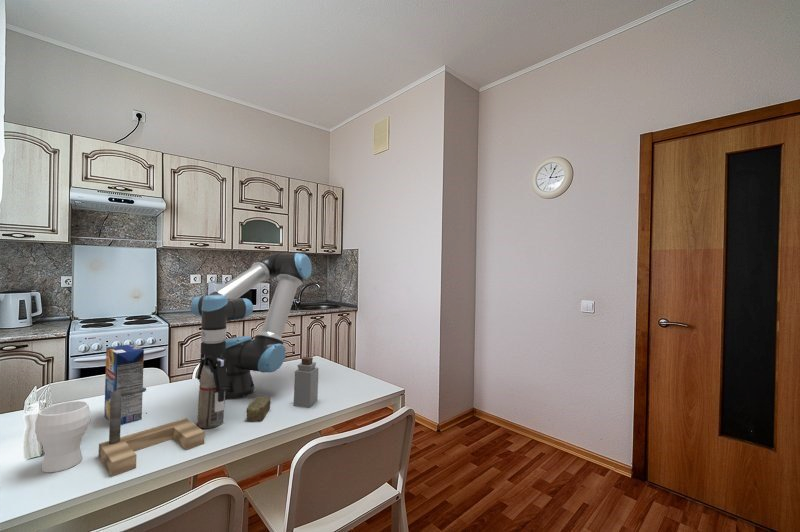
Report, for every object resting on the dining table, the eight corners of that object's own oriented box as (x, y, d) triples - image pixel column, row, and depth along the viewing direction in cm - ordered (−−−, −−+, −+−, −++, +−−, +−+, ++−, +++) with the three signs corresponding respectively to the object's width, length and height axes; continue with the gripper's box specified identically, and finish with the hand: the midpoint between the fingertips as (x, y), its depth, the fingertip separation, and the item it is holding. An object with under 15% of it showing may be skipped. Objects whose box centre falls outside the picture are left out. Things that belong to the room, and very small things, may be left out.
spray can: (218, 416, 124) (220, 359, 124) (229, 423, 119) (230, 364, 119) (192, 423, 118) (194, 364, 118) (202, 431, 112) (204, 369, 112)
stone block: (245, 422, 120) (245, 408, 120) (254, 409, 132) (255, 395, 132) (262, 422, 121) (263, 407, 121) (270, 408, 132) (271, 395, 132)
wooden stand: (98, 456, 97) (100, 393, 97) (185, 428, 114) (187, 375, 114) (112, 476, 88) (114, 407, 88) (204, 443, 105) (206, 385, 105)
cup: (47, 480, 86) (49, 419, 86) (24, 469, 90) (26, 411, 90) (98, 458, 96) (99, 404, 96) (75, 450, 100) (77, 397, 100)
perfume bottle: (309, 407, 134) (311, 361, 134) (293, 405, 135) (295, 359, 135) (317, 401, 140) (318, 356, 140) (301, 399, 142) (303, 355, 142)
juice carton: (104, 416, 121) (106, 347, 121) (130, 409, 127) (132, 344, 127) (114, 427, 114) (116, 353, 114) (141, 419, 120) (144, 349, 120)
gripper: (187, 337, 123) (185, 400, 123) (217, 348, 108) (215, 419, 108) (209, 334, 129) (208, 394, 129) (241, 345, 114) (239, 412, 114)
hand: (211, 405), depth 118 cm, fingers open, 11 cm apart
